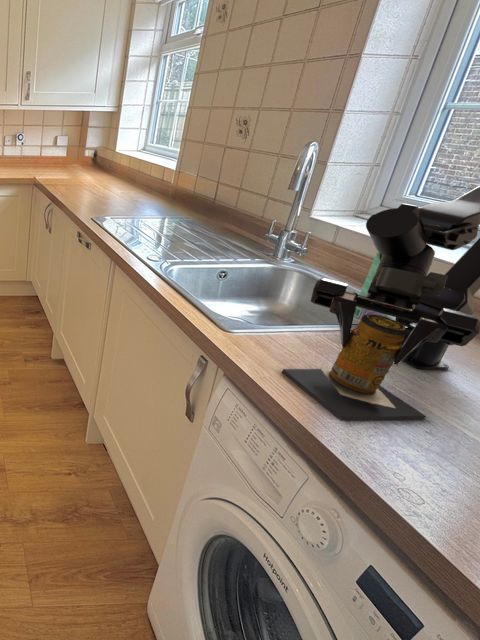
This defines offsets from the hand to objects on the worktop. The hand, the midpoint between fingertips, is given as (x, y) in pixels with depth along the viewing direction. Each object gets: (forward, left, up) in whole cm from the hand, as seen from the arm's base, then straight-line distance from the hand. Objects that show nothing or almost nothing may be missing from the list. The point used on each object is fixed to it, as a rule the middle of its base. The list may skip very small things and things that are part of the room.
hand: (368, 354), depth 64 cm
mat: (-2, -2, -9) cm, 10 cm away
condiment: (-1, -1, -7) cm, 7 cm away
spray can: (-31, -27, -9) cm, 42 cm away
